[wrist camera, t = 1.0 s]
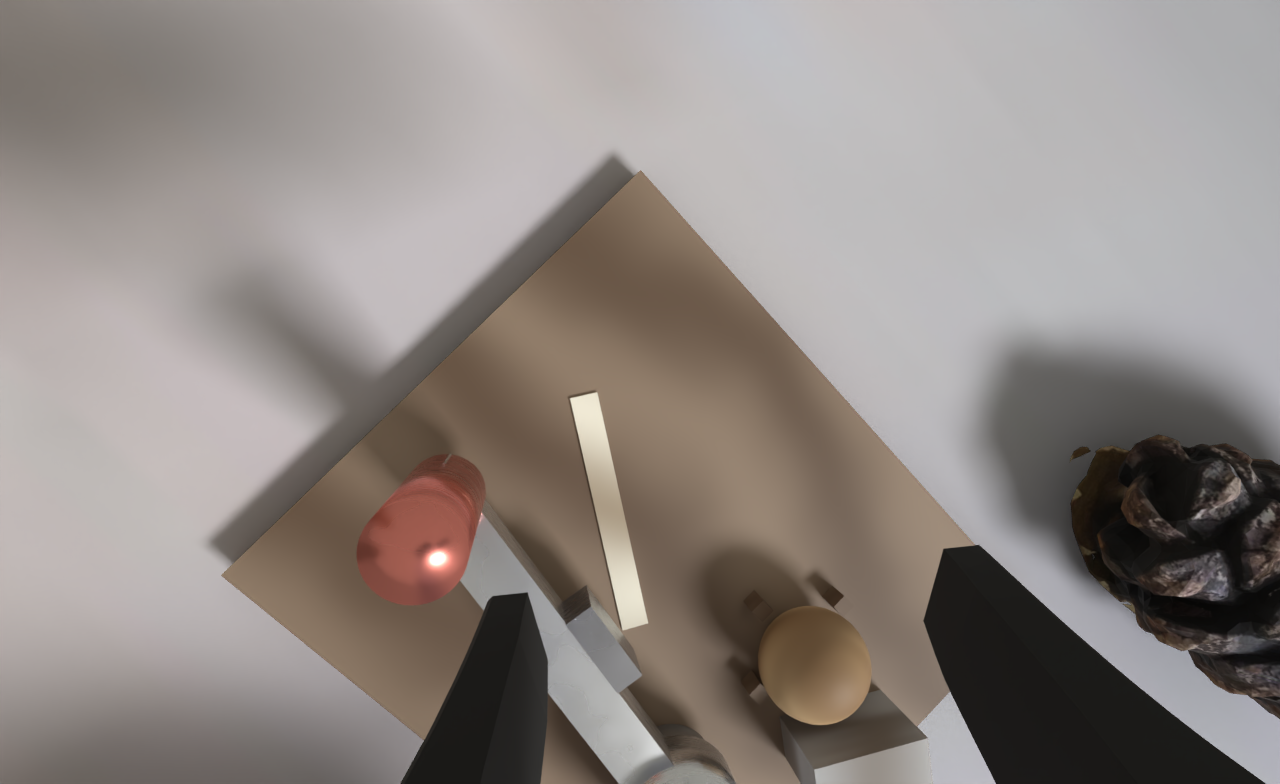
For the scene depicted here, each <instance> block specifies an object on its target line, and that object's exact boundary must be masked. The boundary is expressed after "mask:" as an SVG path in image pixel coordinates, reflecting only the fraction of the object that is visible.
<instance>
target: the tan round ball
mask: <svg viewBox="0 0 1280 784" xmlns="http://www.w3.org/2000/svg"><path fill="white" fill-rule="evenodd" d="M758 668H759V673H760V677H761V680H762V683H763V685H764V688H765V690H766V691H767V693H768V695H769V696H770V698H771V699H772V700H773V702H774V703H775V704H776V705H777V706H778V707H779V708H780V709H781V710H782V711H784V712H785V713H786V714H787V715H789V716H791V717H792V718H794V719H796V720H799V721H801V722H804V723H808V724H813V725H828V724H833V723H837V722H839V721H842V720H844V719H846V718H847V717H849V716H850V715H852V714H853V713H854V712H855V711H856V710H857V709H858V708H859V707H860V706H861V704H862V703H863V701H864V700H865V698H866V696H867V693H868V691H869V687H870V683H871V675H872V668H871V660H870V656H869V652H868V649H867V647H866V644H865V642H864V640H863V639H862V637H861V635H860V634H859V632H858V631H857V630H856V629H855V627H854V626H853V625H852V624H851V623H850V622H849V621H847V620H846V619H845V618H844V617H842V616H841V615H839V614H837V613H835V612H833V611H831V610H829V609H826V608H822V607H817V606H802V607H796V608H792V609H790V610H787V611H786V612H784V613H782V614H781V615H779V616H778V617H777V618H775V619H774V620H773V621H772V622H771V624H770V625H769V626H768V628H767V629H766V631H765V632H764V634H763V636H762V639H761V642H760V646H759V651H758Z"/></svg>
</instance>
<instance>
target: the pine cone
mask: <svg viewBox="0 0 1280 784" xmlns="http://www.w3.org/2000/svg"><path fill="white" fill-rule="evenodd" d="M1088 452H1090V450H1089V449H1088V448H1087V447H1080V448H1079V449H1077V450H1075V451H1074V453H1073V454H1072V456H1071V458H1070V461H1071V460H1072V459H1074V458H1077V457H1079V456H1082V455H1084V454H1086V453H1088ZM1071 511H1072V524H1073V530H1074V534H1075V537H1076V540H1077V542H1078V545H1079V547H1080V550H1081V553H1082V555H1083V558H1084V560H1085V563H1086V565H1087V567H1088V570H1089V572H1090V573H1091V574H1092V575H1093V576H1094V577H1095V578H1096V580H1097V581H1098V582H1099V583H1100V584H1101V585H1102V586H1103V587H1104V588H1105V589H1107V590H1108V591H1109V592H1110V593H1111V594H1112V595H1113V596H1114V597H1115V598H1116V599H1118V600H1119V601H1120V602H1126V601H1128V602H1129V603H1130V604H1131V605H1127V604H1123V605H1125V606H1126V607H1127V608H1129V609H1130V610H1131V611H1132V612H1134V613H1135V614H1136V620H1137V623H1138V625H1139V626H1140V627H1141V628H1142V629H1143V630H1145V631H1146V632H1149V633H1152V634H1154V636H1155V637H1156V638H1157V639H1158V641H1160V642H1162V643H1164V644H1167V645H1169V646H1171V647H1173V648H1176V649H1178V650H1180V651H1185V650H1188V652H1189V654H1190V656H1191V658H1192V660H1193V662H1194V664H1195V666H1196V667H1197V668H1198V669H1200V670H1201V671H1202V672H1203V673H1204V674H1205V675H1206V676H1207V677H1208V678H1209V679H1210V680H1211V681H1212V682H1213V683H1214V684H1215V685H1216V686H1218V687H1220V688H1222V689H1224V690H1225V691H1227V692H1229V693H1233V694H1242V695H1248V696H1249V697H1250V698H1252V699H1254V700H1255V701H1256V702H1257V703H1258V704H1260V705H1261V706H1262V707H1263V708H1264V709H1266V710H1267V711H1268V712H1269V713H1271V714H1273V715H1275V716H1276V717H1278V718H1279V719H1280V465H1278V464H1276V463H1274V462H1273V461H1271V460H1261V459H1251V458H1250V457H1249V455H1247V454H1245V453H1243V452H1242V451H1240V450H1238V449H1236V448H1234V447H1233V446H1230V445H1228V444H1226V443H1225V444H1219V445H1212V446H1209V445H1205V444H1200V445H1197V446H1194V447H1191V448H1187V447H1183V446H1180V443H1179V441H1177V440H1175V439H1172V438H1169V437H1166V436H1162V435H1156V436H1154V437H1151V438H1148V439H1146V440H1143V441H1141V442H1139V443H1136V444H1135V446H1134V447H1133V448H1132V450H1131V451H1127V450H1124V449H1121V448H1118V447H1114V446H1107V447H1103V448H1100V449H1099V450H1097V451H1096V455H1095V457H1094V459H1093V460H1092V462H1091V465H1090V468H1089V470H1088V473H1087V476H1086V477H1085V478H1084V479H1083V480H1082V482H1081V483H1080V484H1079V485H1078V487H1077V489H1076V492H1075V494H1074V496H1073V499H1072V501H1071ZM1092 555H1094V557H1095V558H1094V559H1093V556H1092Z"/></svg>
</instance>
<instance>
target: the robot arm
mask: <svg viewBox="0 0 1280 784" xmlns="http://www.w3.org/2000/svg"><path fill="white" fill-rule="evenodd" d="M923 621H924V624H925V627H926V630H927V633H928V636H929V639H930V641H931V644H932V647H933V650H934V653H935V656H936V658H937V661H938V663H939V666H940V669H941V671H942V674H943V677H944V679H945V682H946V684H947V686H948V688H949V690H950V692H951V694H952V696H953V698H954V700H955V702H956V704H957V706H958V708H959V710H960V712H961V714H962V716H963V718H964V720H965V722H966V724H967V726H968V729H969V730H970V732H971V734H972V736H973V738H974V740H975V742H976V744H977V746H978V748H979V750H980V752H981V754H982V756H983V758H984V760H985V762H986V764H987V766H988V768H989V770H990V772H991V774H992V776H993V778H994V780H995V782H996V784H1266V783H1264V782H1263V781H1261V780H1260V779H1258V778H1257V777H1256V776H1254V775H1253V774H1252V773H1250V772H1249V771H1247V770H1246V769H1245V768H1243V767H1242V766H1241V765H1239V764H1238V763H1236V762H1235V761H1234V760H1232V759H1231V758H1230V757H1228V756H1227V755H1225V754H1224V753H1223V752H1221V751H1220V750H1219V749H1217V748H1216V747H1214V746H1213V745H1212V744H1210V743H1209V742H1208V741H1206V740H1205V739H1204V738H1202V737H1201V736H1200V735H1199V734H1197V733H1196V732H1195V731H1193V730H1192V729H1191V728H1189V727H1188V726H1187V725H1186V724H1184V723H1183V722H1182V721H1180V720H1179V719H1178V718H1177V717H1175V716H1174V715H1173V714H1171V713H1170V712H1169V711H1168V710H1166V709H1165V708H1164V707H1163V706H1162V705H1160V704H1159V703H1158V702H1157V701H1155V700H1154V699H1153V698H1152V697H1150V696H1149V695H1148V694H1147V693H1145V692H1144V691H1143V690H1142V689H1140V688H1139V687H1138V686H1137V685H1136V684H1134V683H1133V682H1132V681H1131V680H1130V679H1128V678H1127V677H1126V676H1125V675H1124V674H1122V673H1121V672H1120V671H1119V670H1118V669H1116V668H1115V667H1114V666H1113V665H1112V664H1111V663H1109V662H1108V661H1107V660H1106V659H1105V658H1104V657H1102V656H1101V655H1100V654H1099V653H1098V652H1097V651H1096V650H1094V649H1093V648H1092V647H1091V646H1090V645H1089V644H1088V643H1086V642H1085V641H1084V640H1083V639H1082V638H1081V637H1079V636H1078V635H1077V634H1076V633H1075V632H1074V631H1073V630H1071V629H1070V628H1069V627H1068V626H1067V625H1066V624H1065V623H1064V622H1063V621H1061V620H1060V619H1059V618H1058V617H1057V616H1056V615H1055V614H1054V613H1053V612H1051V611H1050V610H1049V609H1048V608H1047V607H1046V606H1045V605H1044V604H1043V603H1042V602H1040V601H1039V600H1038V599H1037V598H1036V597H1035V596H1034V595H1033V594H1032V593H1031V592H1030V591H1028V590H1027V589H1026V588H1025V587H1024V586H1023V585H1022V584H1021V583H1020V582H1019V581H1018V580H1017V579H1016V578H1014V577H1013V576H1012V575H1011V574H1010V573H1009V572H1008V571H1007V570H1006V569H1005V568H1004V567H1003V566H1002V565H1000V564H999V563H998V562H997V561H996V560H995V559H994V558H993V557H992V556H991V555H990V554H988V553H987V552H986V551H985V550H984V549H983V548H982V547H981V546H979V545H974V546H964V547H955V548H945V549H943V552H942V556H941V559H940V563H939V567H938V570H937V574H936V577H935V581H934V584H933V588H932V592H931V595H930V599H929V602H928V606H927V609H926V613H925V616H924V620H923ZM547 709H548V659H547V655H546V652H545V649H544V645H543V642H542V639H541V635H540V632H539V629H538V625H537V622H536V619H535V615H534V612H533V609H532V605H531V602H530V599H529V595H528V592H526V593H517V594H507V595H498V596H492V597H491V598H490V599H489V600H488V601H487V604H486V607H485V609H484V612H483V615H482V617H481V620H480V622H479V625H478V627H477V630H476V632H475V634H474V637H473V639H472V642H471V644H470V646H469V649H468V651H467V653H466V655H465V658H464V660H463V662H462V664H461V666H460V669H459V671H458V673H457V675H456V677H455V680H454V682H453V684H452V686H451V688H450V690H449V692H448V694H447V696H446V698H445V700H444V702H443V704H442V706H441V708H440V710H439V712H438V714H437V716H436V718H435V721H434V723H433V725H432V727H431V728H430V730H429V732H428V734H427V736H426V738H425V740H424V742H423V744H422V745H421V747H420V749H419V751H418V753H417V755H416V756H415V758H414V760H413V762H412V764H411V765H410V767H409V769H408V771H407V773H406V775H405V776H404V778H403V780H402V782H401V784H541V775H542V766H543V757H544V747H545V738H546V729H547Z"/></svg>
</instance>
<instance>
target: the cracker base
mask: <svg viewBox="0 0 1280 784" xmlns="http://www.w3.org/2000/svg"><path fill="white" fill-rule="evenodd" d="M450 453H451V454H452V455H457V456H460V457H463V458H465V459H467V460H468V461H470V462H471V463H473V464H474V465H475V466H476V467H477V469H478V470H479V471H480V473H481V474H482V476H483V479H484V482H485V486H486V498H485V499H486V501H487V502H488V503H489V505H490V506H491V507H492V509H493V510H494V511H495V513H496V514H497V515H498V517H499V518H500V519H501V521H502V522H503V523H504V524H505V526H506V527H507V528H508V530H509V531H510V532H511V534H512V535H513V536H514V538H515V539H516V540H517V542H518V543H519V544H520V546H521V547H522V548H523V550H524V551H525V552H526V554H527V555H528V556H529V558H530V559H531V560H532V562H533V563H534V564H535V566H536V567H537V568H538V570H539V571H540V572H541V574H542V575H543V576H544V578H545V579H546V580H547V582H548V583H549V584H550V586H551V587H552V588H553V590H554V591H555V592H556V594H557V595H558V596H559V598H560V599H561V600H562V602H564V601H565V600H566V599H568V598H569V597H570V596H572V595H573V594H575V593H576V592H577V591H579V590H580V589H582V588H583V587H584V586H586V585H587V586H588V588H589V589H590V590H591V592H592V593H593V594H594V596H595V597H596V599H597V600H598V601H599V603H600V604H601V605H602V607H603V608H604V609H605V611H606V612H607V613H608V615H609V616H610V617H611V619H612V620H613V622H614V623H615V624H616V626H617V627H618V628H619V630H620V631H621V632H622V634H623V635H624V636H625V638H626V639H627V640H628V642H629V643H630V645H631V646H632V647H633V649H634V651H635V654H636V657H637V660H638V663H639V666H640V670H641V673H642V676H641V677H640V678H638V679H637V680H636V681H634V682H633V683H632V684H630V685H629V686H628V687H627V688H628V689H629V691H630V692H631V693H632V695H633V696H634V697H635V699H636V700H637V701H638V703H639V704H640V705H641V707H642V708H643V709H644V711H645V712H646V713H647V715H648V716H649V717H650V719H651V720H652V721H653V723H654V724H655V725H656V727H657V728H658V729H659V731H660V732H661V733H662V735H663V736H664V737H667V736H672V735H689V736H695V737H698V738H701V739H703V740H705V741H707V742H709V743H710V744H712V745H713V746H714V747H715V748H717V749H718V750H719V752H720V753H721V754H722V755H723V757H724V758H725V760H726V762H727V764H728V767H729V769H730V771H731V773H732V775H733V778H734V780H735V782H736V784H933V778H932V769H931V760H930V751H929V742H928V738H927V737H926V736H925V735H924V734H923V733H922V731H921V730H920V729H919V728H918V727H917V726H918V725H919V724H920V723H921V722H922V721H923V720H924V719H925V717H926V716H927V715H928V714H929V713H930V712H931V711H932V710H933V709H934V708H935V707H936V706H937V705H938V704H939V703H940V701H941V700H942V699H943V698H944V697H945V696H946V695H947V694H948V693H949V692H950V690H949V688H948V686H947V684H946V682H945V679H944V677H943V674H942V671H941V669H940V666H939V663H938V661H937V658H936V656H935V653H934V650H933V647H932V644H931V641H930V639H929V636H928V633H927V630H926V627H925V624H924V621H923V620H924V616H925V613H926V609H927V606H928V602H929V599H930V595H931V592H932V588H933V584H934V581H935V577H936V574H937V570H938V567H939V563H940V559H941V556H942V552H943V549H945V548H955V547H964V546H974V545H975V544H974V543H973V542H972V541H971V540H970V539H969V537H968V536H967V535H966V534H965V533H964V532H963V531H962V530H961V528H960V527H959V526H958V525H957V524H956V523H955V522H954V521H953V519H952V518H951V517H950V516H949V515H948V514H947V513H946V512H945V511H944V509H943V508H942V507H941V506H940V505H939V504H938V503H937V502H936V500H935V499H934V498H933V497H932V496H931V495H930V494H929V493H928V491H927V490H926V489H925V488H924V487H923V486H922V485H921V484H920V483H919V481H918V480H917V479H916V478H915V477H914V476H913V475H912V474H911V472H910V471H909V470H908V469H907V468H906V467H905V466H904V465H903V463H902V462H901V461H900V460H899V459H898V458H897V457H896V456H895V455H894V453H893V452H892V451H891V450H890V449H889V448H888V447H887V446H886V444H885V443H884V442H883V441H882V440H881V439H880V438H879V437H878V435H877V434H876V433H875V432H874V431H873V430H872V429H871V428H870V427H869V425H868V424H867V423H866V422H865V421H864V420H863V419H862V418H861V416H860V415H859V414H858V413H857V412H856V411H855V410H854V409H853V407H852V406H851V405H850V404H849V403H848V402H847V401H846V400H845V399H844V397H843V396H842V395H841V394H840V393H839V392H838V391H837V390H836V388H835V387H834V386H833V385H832V384H831V383H830V382H829V381H828V379H827V378H826V377H825V376H824V375H823V374H822V373H821V372H820V371H819V369H818V368H817V367H816V366H815V365H814V364H813V363H812V362H811V360H810V359H809V358H808V357H807V356H806V355H805V354H804V353H803V351H802V350H801V349H800V348H799V347H798V346H797V345H796V344H795V343H794V341H793V340H792V339H791V338H790V337H789V336H788V335H787V334H786V332H785V331H784V330H783V329H782V328H781V327H780V326H779V325H778V323H777V322H776V321H775V320H774V319H773V318H772V317H771V316H770V315H769V313H768V312H767V311H766V310H765V309H764V308H763V307H762V306H761V304H760V303H759V302H758V301H757V300H756V299H755V298H754V297H753V295H752V294H751V293H750V292H749V291H748V290H747V289H746V288H745V287H744V285H743V284H742V283H741V282H740V281H739V280H738V279H737V278H736V276H735V275H734V274H733V273H732V272H731V271H730V270H729V269H728V267H727V266H726V265H725V264H724V263H723V262H722V261H721V260H720V259H719V257H718V256H717V255H716V254H715V253H714V252H713V251H712V250H711V248H710V247H709V246H708V245H707V244H706V243H705V242H704V241H703V239H702V238H701V237H700V236H699V235H698V234H697V233H696V232H695V231H694V229H693V228H692V227H691V226H690V225H689V224H688V223H687V222H686V220H685V219H684V218H683V217H682V216H681V215H680V214H679V213H678V211H677V210H676V209H675V208H674V207H673V206H672V205H671V204H670V203H669V201H668V200H667V199H666V198H665V197H664V196H663V195H662V194H661V192H660V191H659V190H658V189H657V188H656V187H655V186H654V185H653V183H652V182H651V181H650V180H649V179H648V178H647V177H646V176H645V175H644V173H643V172H642V171H641V170H640V171H639V172H638V173H637V174H636V175H635V176H634V177H633V178H632V179H631V180H630V181H629V182H628V183H627V184H626V185H625V186H624V187H623V188H622V189H621V190H620V191H619V192H618V193H617V194H615V195H614V196H613V197H612V198H611V199H610V200H609V201H608V202H607V203H606V204H605V205H604V206H603V207H602V208H601V209H600V210H599V211H598V212H597V213H596V214H595V215H594V216H593V217H592V218H591V219H590V220H589V221H588V222H587V223H585V224H584V225H583V226H582V227H581V228H580V229H579V230H578V231H577V232H576V233H575V234H574V235H573V236H572V237H571V238H570V239H569V240H568V241H567V242H566V243H565V244H564V245H563V246H562V247H561V248H560V249H559V250H558V251H556V252H555V253H554V254H553V255H552V256H551V257H550V258H549V259H548V260H547V261H546V262H545V263H544V264H543V265H542V266H541V267H540V268H539V269H538V270H537V271H536V272H535V273H534V274H533V275H532V276H531V277H530V278H529V279H527V280H526V281H525V282H524V283H523V284H522V285H521V286H520V287H519V288H518V289H517V290H516V291H515V292H514V293H513V294H512V295H511V296H510V297H509V298H508V299H507V300H506V301H505V302H504V303H503V304H502V305H501V306H500V307H498V308H497V309H496V310H495V311H494V312H493V313H492V314H491V315H490V316H489V317H488V318H487V319H486V320H485V321H484V322H483V323H482V324H481V325H480V326H479V327H478V328H477V329H476V330H475V331H474V332H473V333H472V334H471V335H469V336H468V337H467V338H466V339H465V340H464V341H463V342H462V343H461V344H460V345H459V346H458V347H457V348H456V349H455V350H454V351H453V352H452V353H451V354H450V355H449V356H448V357H447V358H446V359H445V360H444V361H443V362H442V363H440V364H439V365H438V366H437V367H436V368H435V369H434V370H433V371H432V372H431V373H430V374H429V375H428V376H427V377H426V378H425V379H424V380H423V381H422V382H421V383H420V384H419V385H418V386H417V387H416V388H415V389H414V390H413V391H411V392H410V393H409V394H408V395H407V396H406V397H405V398H404V399H403V400H402V401H401V402H400V403H399V404H398V405H397V406H396V407H395V408H394V409H393V410H392V411H391V412H390V413H389V414H388V415H387V416H386V417H385V418H384V419H383V420H381V421H380V422H379V423H378V424H377V425H376V426H375V427H374V428H373V429H372V430H371V431H370V432H369V433H368V434H367V435H366V436H365V437H364V438H363V439H362V440H361V441H360V442H359V443H358V444H357V445H356V446H355V447H354V448H352V449H351V450H350V451H349V452H348V453H347V454H346V455H345V456H344V457H343V458H342V459H341V460H340V461H339V462H338V463H337V464H336V465H335V466H334V467H333V468H332V469H331V470H330V471H329V472H328V473H327V474H326V475H325V476H323V477H322V478H321V479H320V480H319V481H318V482H317V483H316V484H315V485H314V486H313V487H312V488H311V489H310V490H309V491H308V492H307V493H306V494H305V495H304V496H303V497H302V498H301V499H300V500H299V501H298V502H297V503H296V504H294V505H293V506H292V507H291V508H290V509H289V510H288V511H287V512H286V513H285V514H284V515H283V516H282V517H281V518H280V519H279V520H278V521H277V522H276V523H275V524H274V525H273V526H272V527H271V528H270V529H269V530H268V531H267V532H265V533H264V534H263V535H262V536H261V537H260V538H259V539H258V540H257V541H256V542H255V543H254V544H253V545H252V546H251V547H250V548H249V549H248V550H247V551H246V552H245V553H244V554H243V555H242V556H241V557H240V558H239V559H238V560H237V561H235V562H234V563H233V564H232V565H231V566H230V567H229V568H228V569H227V570H226V571H225V572H224V573H223V574H222V575H221V576H222V577H224V578H225V579H226V580H227V581H228V582H230V583H231V584H232V585H233V586H235V587H236V588H237V589H238V590H240V591H241V592H242V593H243V594H244V595H246V596H247V597H248V598H249V599H251V600H252V601H253V602H254V603H256V604H257V605H258V606H259V607H260V608H262V609H263V610H264V611H265V612H267V613H268V614H269V615H270V616H272V617H273V618H274V619H275V620H276V621H278V622H279V623H280V624H281V625H283V626H284V627H285V628H286V629H288V630H289V631H290V632H291V633H292V634H294V635H295V636H296V637H297V638H299V639H300V640H301V641H302V642H304V643H305V644H306V645H307V646H308V647H310V648H311V649H312V650H313V651H315V652H316V653H317V654H318V655H320V656H321V657H322V658H323V659H324V660H326V661H327V662H328V663H329V664H331V665H332V666H333V667H334V668H336V669H337V670H338V671H339V672H340V673H342V674H343V675H344V676H345V677H347V678H348V679H349V680H350V681H352V682H353V683H354V684H355V685H356V686H358V687H359V688H360V689H361V690H363V691H364V692H365V693H366V694H368V695H369V696H370V697H371V698H372V699H374V700H375V701H376V702H377V703H379V704H380V705H381V706H382V707H384V708H385V709H386V710H387V711H389V712H390V713H391V714H392V715H393V716H395V717H396V718H397V719H398V720H400V721H401V722H402V723H403V724H405V725H406V726H407V727H408V728H409V729H411V730H412V731H413V732H414V733H416V734H417V735H418V736H419V737H421V738H422V739H423V740H425V738H426V736H427V734H428V732H429V730H430V728H431V727H432V725H433V723H434V721H435V718H436V716H437V714H438V712H439V710H440V708H441V706H442V704H443V702H444V700H445V698H446V696H447V694H448V692H449V690H450V688H451V686H452V684H453V682H454V680H455V677H456V675H457V673H458V671H459V669H460V666H461V664H462V662H463V660H464V658H465V655H466V653H467V651H468V649H469V646H470V644H471V642H472V639H473V637H474V634H475V632H476V630H477V627H478V625H479V622H480V620H481V617H482V615H483V612H484V611H483V609H482V608H481V607H480V605H479V604H478V603H477V602H476V600H475V599H474V598H473V597H472V595H471V594H470V593H469V591H468V590H467V589H466V588H465V586H464V585H463V584H462V582H461V581H459V582H458V584H457V585H456V586H455V587H454V588H453V589H452V590H451V591H450V592H448V593H447V594H446V595H444V596H443V597H441V598H439V599H437V600H435V601H433V602H430V603H427V604H422V605H401V604H396V603H393V602H390V601H388V600H385V599H383V598H382V597H380V596H379V595H377V594H376V593H375V592H373V591H372V590H371V589H370V588H369V586H368V585H367V584H366V583H365V581H364V580H363V578H362V576H361V574H360V571H359V568H358V564H357V554H356V553H357V545H358V541H359V538H360V535H361V533H362V531H363V529H364V527H365V526H366V525H367V523H368V522H369V521H370V519H371V518H372V517H373V516H374V515H375V514H376V512H377V511H378V510H379V509H380V508H381V507H382V505H383V504H384V503H385V502H386V501H387V500H388V499H389V497H390V496H391V495H392V494H393V493H394V492H395V490H396V489H397V488H398V487H399V486H400V485H401V483H402V482H403V481H404V480H405V479H406V478H407V476H408V475H409V474H410V473H411V472H412V471H413V470H414V468H415V467H416V466H417V465H418V464H420V463H421V462H422V461H424V460H426V459H427V458H430V457H432V456H435V455H441V454H450ZM802 606H817V607H822V608H826V609H829V610H831V611H833V612H835V613H837V614H839V615H841V616H842V617H844V618H845V619H846V620H847V621H849V622H850V623H851V624H852V625H853V626H854V627H855V629H856V630H857V631H858V632H859V634H860V635H861V637H862V639H863V640H864V642H865V644H866V647H867V649H868V652H869V656H870V660H871V668H872V675H871V683H870V687H869V691H868V693H867V696H866V698H865V700H864V701H863V703H862V704H861V706H860V707H859V708H858V709H857V710H856V711H855V712H854V713H853V714H852V715H850V716H849V717H847V718H846V719H844V720H842V721H839V722H837V723H833V724H828V725H813V724H808V723H804V722H801V721H799V720H796V719H794V718H792V717H791V716H789V715H787V714H786V713H785V712H784V711H782V710H781V709H780V708H779V707H778V706H777V705H776V704H775V703H774V702H773V700H772V699H771V698H770V696H769V695H768V693H767V691H766V690H765V688H764V685H763V683H762V680H761V677H760V673H759V668H758V651H759V646H760V642H761V639H762V636H763V634H764V632H765V631H766V629H767V628H768V626H769V625H770V624H771V622H772V621H773V620H774V619H775V618H777V617H778V616H779V615H781V614H782V613H784V612H786V611H787V610H790V609H792V608H796V607H802ZM617 783H618V782H617V781H616V779H615V778H614V777H613V776H612V774H611V773H610V772H609V770H608V769H607V768H606V767H605V765H604V764H603V763H602V761H601V760H600V759H599V758H598V756H597V755H596V754H595V753H594V751H593V750H592V749H591V747H590V746H589V745H588V744H587V742H586V741H585V740H584V738H583V737H582V736H581V735H580V733H579V732H578V731H577V729H576V728H575V727H574V726H573V724H572V723H571V722H570V721H569V719H568V718H567V717H566V715H565V714H564V713H563V712H562V710H561V709H560V708H559V706H558V705H557V704H556V703H555V701H554V700H553V699H552V698H551V696H550V695H549V694H548V709H547V729H546V738H545V747H544V757H543V766H542V775H541V784H617Z"/></svg>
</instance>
